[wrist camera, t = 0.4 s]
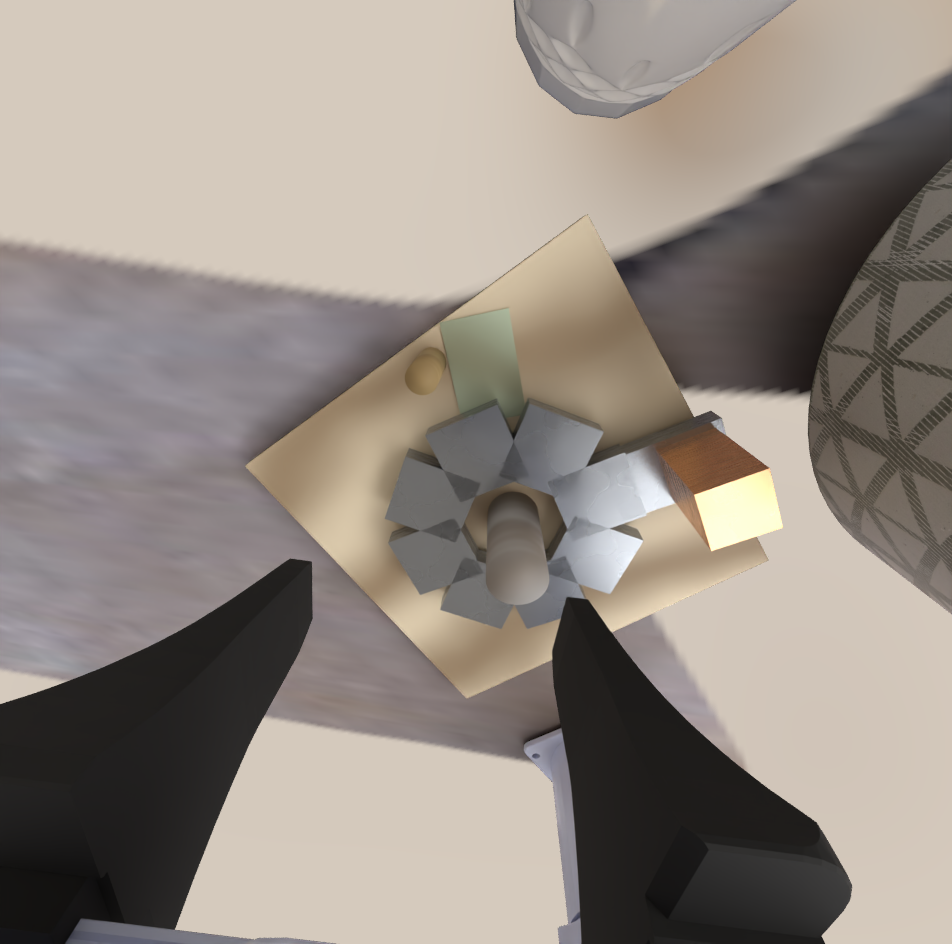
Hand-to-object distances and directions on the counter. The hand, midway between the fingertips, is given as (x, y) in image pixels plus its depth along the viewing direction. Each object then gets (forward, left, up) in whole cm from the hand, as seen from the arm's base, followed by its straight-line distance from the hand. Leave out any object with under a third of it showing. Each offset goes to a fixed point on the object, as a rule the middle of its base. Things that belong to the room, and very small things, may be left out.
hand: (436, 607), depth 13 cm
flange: (-4, -3, -9) cm, 10 cm away
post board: (-3, -1, -10) cm, 11 cm away
